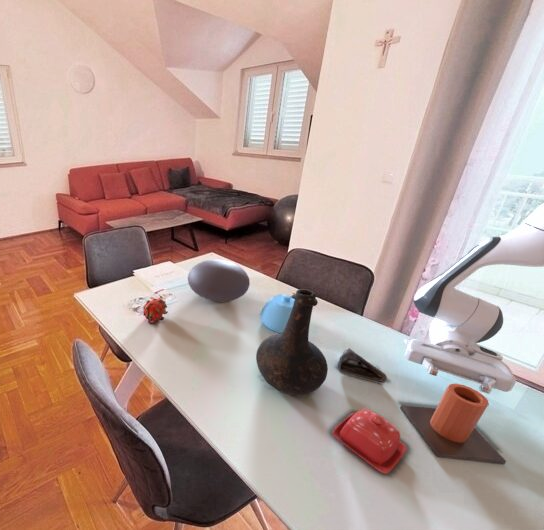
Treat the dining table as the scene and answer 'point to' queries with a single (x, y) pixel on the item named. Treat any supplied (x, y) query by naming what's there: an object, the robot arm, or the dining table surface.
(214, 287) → the smooth stone
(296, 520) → the dining table surface
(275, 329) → the sugar bowl
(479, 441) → the plate
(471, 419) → the pot
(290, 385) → the glass bottle
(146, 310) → the dragon fruit
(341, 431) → the butter dish
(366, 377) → the chocolate cake
